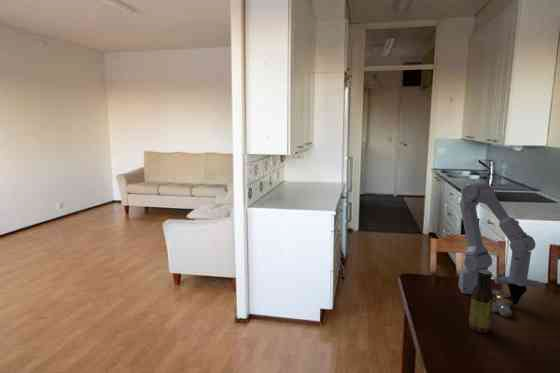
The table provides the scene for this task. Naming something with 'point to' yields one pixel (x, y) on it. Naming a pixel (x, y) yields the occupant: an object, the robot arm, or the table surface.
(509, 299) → the coupling
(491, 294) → the sauce bottle
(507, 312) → the valve body
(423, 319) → the table surface
